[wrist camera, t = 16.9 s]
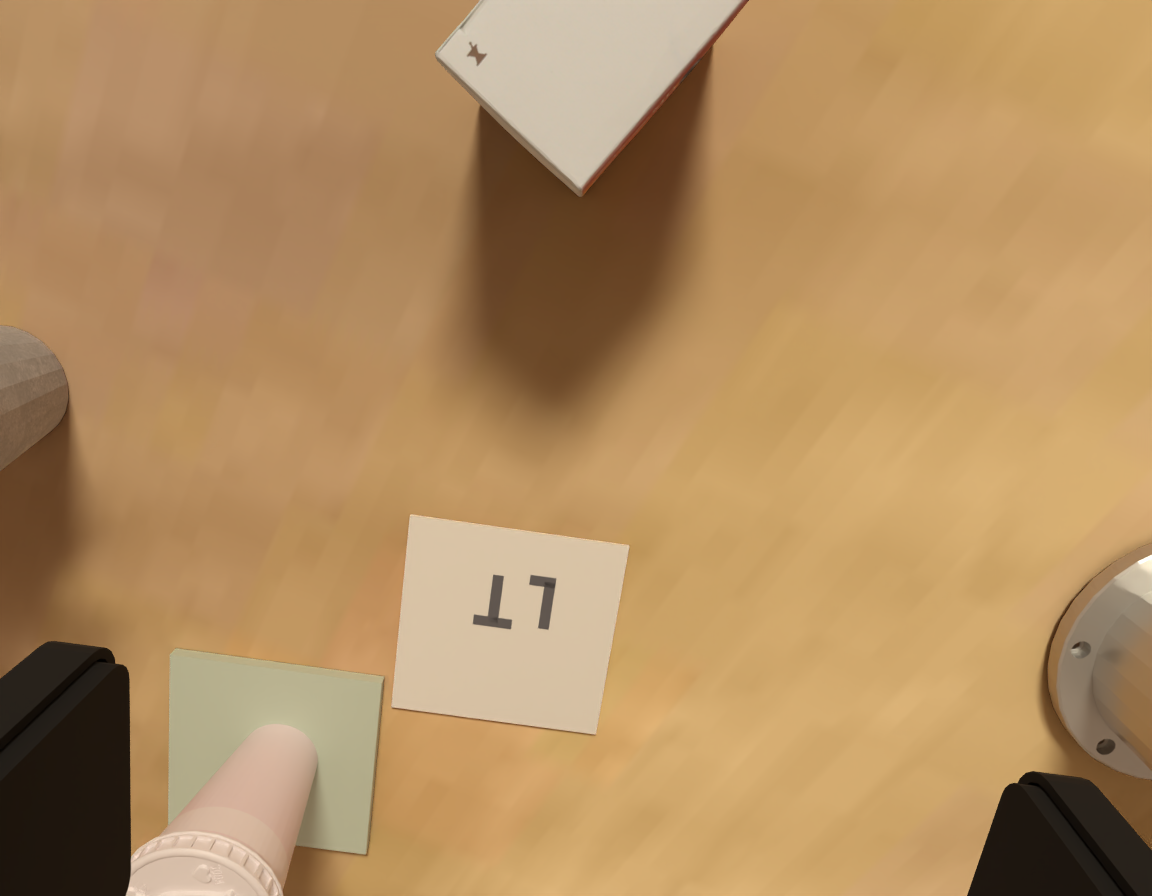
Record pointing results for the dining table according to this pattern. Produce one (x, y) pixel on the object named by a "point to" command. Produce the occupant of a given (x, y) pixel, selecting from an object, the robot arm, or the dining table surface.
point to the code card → (506, 624)
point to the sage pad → (290, 697)
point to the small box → (580, 70)
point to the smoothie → (235, 824)
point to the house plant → (27, 392)
